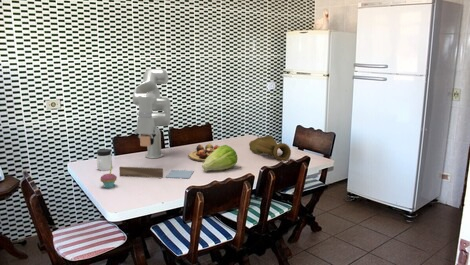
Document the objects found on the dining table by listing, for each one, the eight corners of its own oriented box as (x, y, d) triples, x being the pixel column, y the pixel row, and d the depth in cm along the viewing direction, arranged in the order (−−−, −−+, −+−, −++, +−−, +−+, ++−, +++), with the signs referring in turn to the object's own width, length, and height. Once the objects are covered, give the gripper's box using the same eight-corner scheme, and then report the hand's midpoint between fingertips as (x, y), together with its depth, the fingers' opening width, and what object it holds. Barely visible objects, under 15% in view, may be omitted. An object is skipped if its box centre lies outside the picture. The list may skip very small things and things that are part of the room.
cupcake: (118, 183, 212) (117, 163, 210) (114, 189, 204) (113, 167, 201) (103, 183, 212) (102, 163, 209) (98, 189, 203) (97, 167, 201)
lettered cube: (143, 143, 235) (143, 134, 234) (152, 144, 235) (152, 134, 233) (140, 146, 229) (139, 136, 228) (149, 146, 229) (149, 136, 227)
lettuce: (215, 182, 230) (201, 178, 243) (243, 162, 243) (229, 160, 256) (206, 161, 226) (192, 159, 239) (235, 142, 239) (221, 141, 251)
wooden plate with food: (213, 166, 249) (213, 153, 247) (179, 157, 268) (178, 146, 266) (241, 156, 274) (242, 145, 272) (208, 149, 293) (208, 138, 291)
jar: (94, 169, 238) (93, 150, 236) (105, 166, 245) (104, 148, 242) (104, 171, 234) (103, 152, 231) (114, 168, 241) (113, 150, 238)
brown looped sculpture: (280, 138, 288) (295, 140, 262) (274, 159, 288) (289, 163, 261) (252, 130, 282) (264, 131, 256) (246, 151, 282) (258, 154, 255)
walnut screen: (120, 175, 226) (120, 166, 225) (163, 177, 224) (162, 168, 223) (119, 176, 225) (119, 167, 224) (162, 177, 223) (162, 169, 222)
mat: (171, 170, 236) (171, 169, 236) (193, 171, 235) (193, 170, 235) (165, 177, 223) (165, 176, 223) (189, 178, 222) (189, 177, 221)
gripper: (129, 115, 225) (130, 145, 229) (157, 116, 224) (158, 146, 227) (134, 113, 233) (135, 142, 236) (161, 114, 231) (162, 143, 235)
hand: (146, 143), depth 232 cm, fingers closed on lettered cube, 6 cm apart
